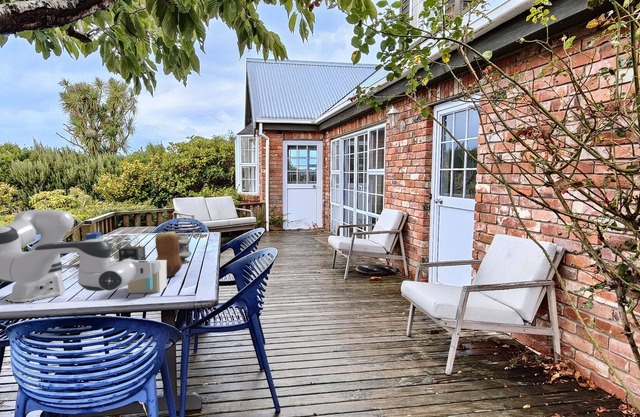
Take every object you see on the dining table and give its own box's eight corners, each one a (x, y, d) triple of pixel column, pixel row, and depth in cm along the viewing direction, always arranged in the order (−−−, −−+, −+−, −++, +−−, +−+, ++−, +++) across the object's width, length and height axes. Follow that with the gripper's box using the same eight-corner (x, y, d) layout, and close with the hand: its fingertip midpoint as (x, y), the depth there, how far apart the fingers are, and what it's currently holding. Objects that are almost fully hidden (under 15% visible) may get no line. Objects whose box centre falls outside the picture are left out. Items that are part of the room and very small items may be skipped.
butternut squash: (160, 273, 220) (159, 230, 218) (184, 273, 221) (183, 229, 220) (152, 279, 206) (151, 233, 205) (178, 279, 208) (177, 232, 206)
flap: (154, 293, 176) (153, 269, 176) (123, 294, 175) (123, 270, 174) (158, 289, 182) (157, 266, 182) (129, 290, 181) (128, 267, 180)
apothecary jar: (168, 263, 250) (167, 235, 249) (184, 260, 259) (184, 233, 258) (177, 265, 242) (177, 237, 241) (195, 262, 251) (194, 235, 250)
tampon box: (146, 270, 228) (145, 246, 227) (137, 274, 219) (136, 248, 218) (128, 270, 229) (127, 245, 228) (119, 273, 220) (118, 248, 219)
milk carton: (97, 265, 241) (96, 234, 240) (86, 266, 239) (85, 234, 238) (102, 262, 251) (101, 232, 249) (92, 263, 249) (90, 232, 248)
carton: (159, 292, 183) (158, 264, 182) (128, 292, 181) (127, 265, 181) (167, 285, 195) (166, 259, 194) (138, 286, 193) (137, 260, 193)
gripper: (99, 279, 151) (115, 270, 165) (154, 277, 153) (164, 269, 166) (99, 263, 150) (114, 256, 164) (153, 261, 152) (164, 255, 166)
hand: (140, 263), depth 165 cm, fingers open, 8 cm apart
